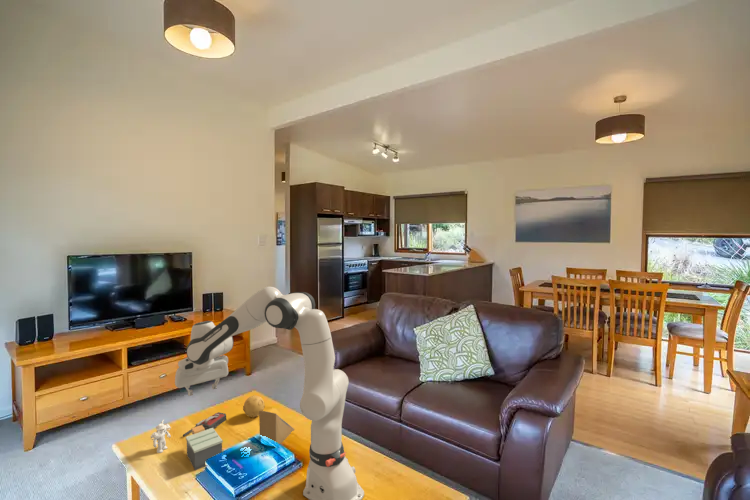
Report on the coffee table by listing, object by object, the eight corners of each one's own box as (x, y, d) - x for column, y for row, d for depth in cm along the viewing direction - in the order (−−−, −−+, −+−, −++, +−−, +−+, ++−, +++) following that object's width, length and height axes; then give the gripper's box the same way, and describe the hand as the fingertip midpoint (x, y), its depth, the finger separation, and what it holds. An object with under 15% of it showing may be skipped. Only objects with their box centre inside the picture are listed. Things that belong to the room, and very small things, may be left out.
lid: (222, 445, 140) (222, 438, 140) (194, 456, 133) (194, 449, 133) (210, 428, 152) (209, 422, 152) (183, 437, 145) (183, 431, 145)
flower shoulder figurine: (166, 443, 151) (165, 416, 150) (173, 444, 150) (173, 417, 150) (148, 456, 142) (148, 427, 141) (157, 457, 141) (156, 428, 141)
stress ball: (249, 413, 178) (235, 407, 171) (261, 395, 181) (248, 389, 175) (259, 423, 171) (245, 417, 165) (272, 405, 175) (258, 398, 168)
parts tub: (222, 459, 140) (221, 442, 140) (195, 470, 134) (194, 452, 133) (212, 445, 149) (212, 429, 149) (187, 455, 142) (186, 438, 142)
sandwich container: (295, 429, 162) (295, 397, 162) (276, 448, 148) (276, 413, 147) (279, 425, 165) (279, 394, 164) (259, 444, 150) (259, 410, 150)
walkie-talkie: (214, 416, 174) (181, 438, 155) (214, 407, 174) (181, 428, 155) (229, 418, 171) (197, 442, 152) (229, 410, 171) (196, 432, 152)
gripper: (225, 352, 155) (225, 382, 156) (173, 362, 142) (173, 396, 142) (230, 356, 150) (230, 387, 151) (177, 367, 137) (177, 401, 138)
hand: (202, 391), depth 147 cm, fingers open, 8 cm apart
